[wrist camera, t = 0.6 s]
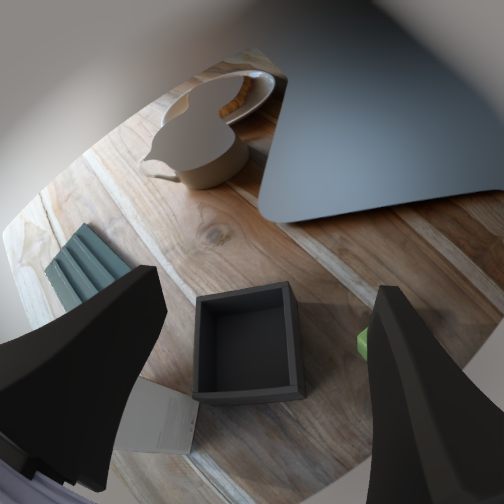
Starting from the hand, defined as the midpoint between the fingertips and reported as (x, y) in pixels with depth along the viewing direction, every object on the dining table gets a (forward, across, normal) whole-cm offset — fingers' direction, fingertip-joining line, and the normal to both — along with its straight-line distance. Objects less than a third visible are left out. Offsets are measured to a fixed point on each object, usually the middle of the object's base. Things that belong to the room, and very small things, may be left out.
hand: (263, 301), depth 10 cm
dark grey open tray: (+12, +3, +18) cm, 22 cm away
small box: (+5, +12, +24) cm, 27 cm away
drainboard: (+23, +33, +20) cm, 45 cm away
